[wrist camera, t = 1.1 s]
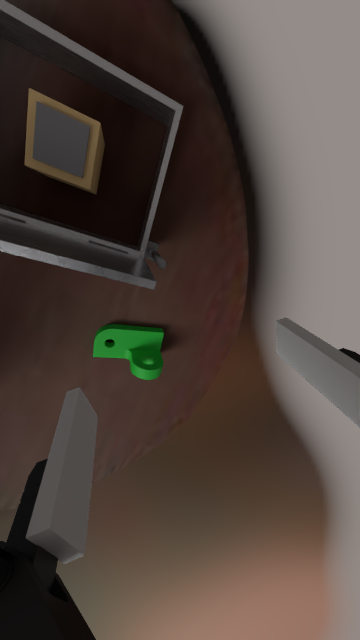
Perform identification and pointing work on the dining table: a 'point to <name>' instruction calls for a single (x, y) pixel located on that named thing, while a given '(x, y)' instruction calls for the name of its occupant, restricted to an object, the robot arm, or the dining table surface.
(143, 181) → the dining table surface
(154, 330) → the mechanical part
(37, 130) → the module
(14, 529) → the robot arm
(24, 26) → the case
